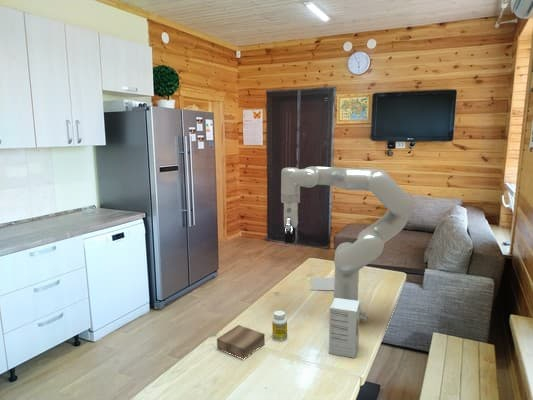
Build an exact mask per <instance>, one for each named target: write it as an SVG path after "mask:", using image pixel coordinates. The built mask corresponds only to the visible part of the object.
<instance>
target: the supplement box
mask: <svg viewBox="0 0 533 400" xmlns="http://www.w3.org/2000/svg"><path fill="white" fill-rule="evenodd" d="M360 312H361V301H359V300H358V301H356V300H348V299H341V298H334V297H333V301H332V303H331V304H330V306H329V320H328V321H329V330H328V335H329V336H328V353H329V354H330V355H335V356H340V357H347V358H352V359H356V357H357V354H358V349H359V346H360V345H359V344H360V342H359V341H360V322H359V317H360Z"/></svg>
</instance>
